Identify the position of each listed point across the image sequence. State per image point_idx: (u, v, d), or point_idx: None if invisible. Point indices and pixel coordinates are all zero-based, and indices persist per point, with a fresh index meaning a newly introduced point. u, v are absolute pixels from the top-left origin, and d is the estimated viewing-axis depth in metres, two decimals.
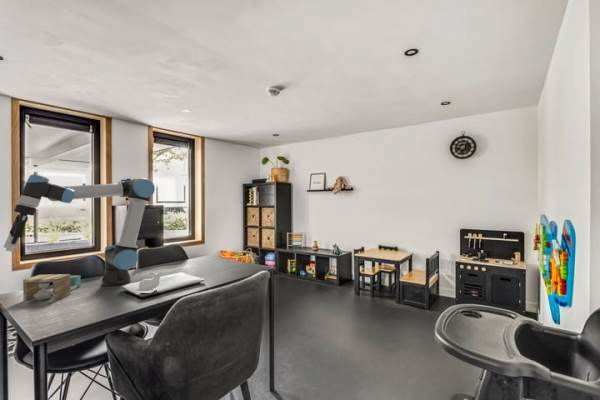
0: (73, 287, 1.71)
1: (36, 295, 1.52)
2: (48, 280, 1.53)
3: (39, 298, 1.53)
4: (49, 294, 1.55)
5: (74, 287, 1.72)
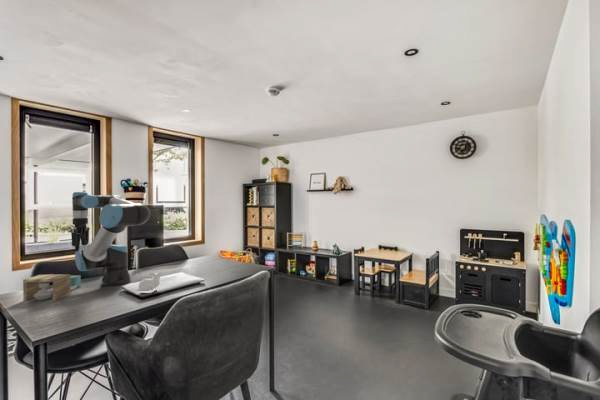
0: (73, 287, 1.71)
1: (36, 295, 1.52)
2: (48, 280, 1.53)
3: (39, 298, 1.53)
4: (49, 294, 1.55)
5: (74, 287, 1.72)
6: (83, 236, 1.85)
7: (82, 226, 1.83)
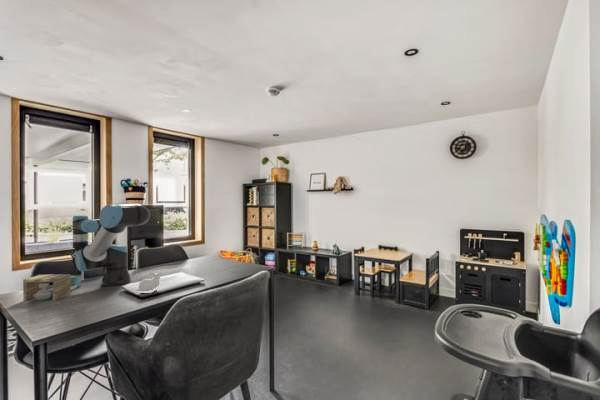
0: (73, 287, 1.71)
1: (36, 295, 1.52)
2: (48, 280, 1.53)
3: (39, 298, 1.53)
4: (49, 294, 1.55)
5: (74, 287, 1.72)
6: None
7: (82, 249, 1.83)
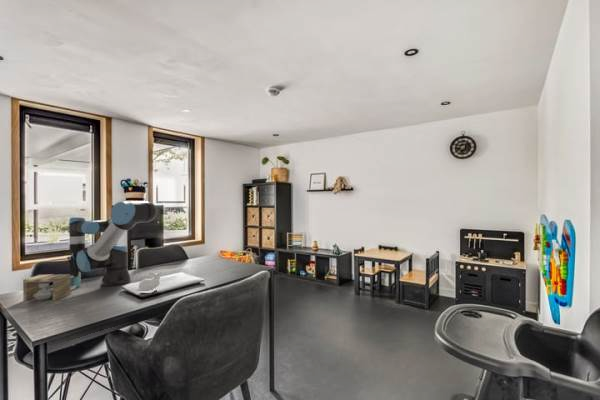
0: (72, 287, 1.71)
1: (36, 295, 1.52)
2: (48, 280, 1.53)
3: (39, 298, 1.53)
4: (49, 294, 1.55)
5: (73, 287, 1.72)
6: None
7: (79, 252, 1.81)
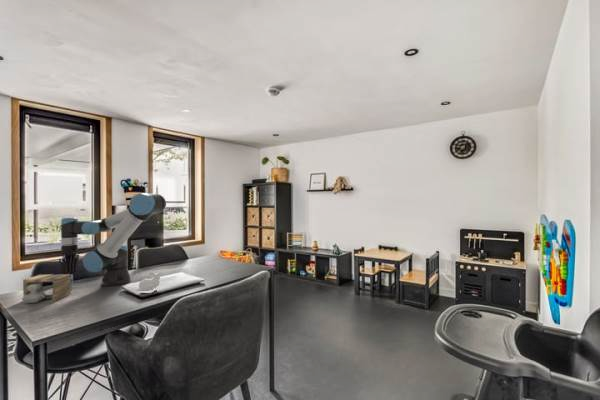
0: None
1: (23, 298, 1.47)
2: (48, 280, 1.53)
3: (27, 301, 1.48)
4: (35, 298, 1.49)
5: None
6: (71, 264, 1.75)
7: (71, 253, 1.74)
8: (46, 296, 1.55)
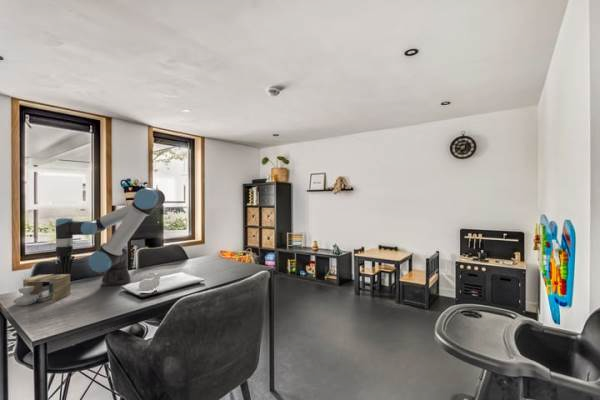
0: None
1: (15, 300, 1.44)
2: (48, 280, 1.53)
3: (18, 304, 1.45)
4: (26, 301, 1.44)
5: None
6: (66, 266, 1.71)
7: (66, 255, 1.70)
8: (39, 299, 1.51)
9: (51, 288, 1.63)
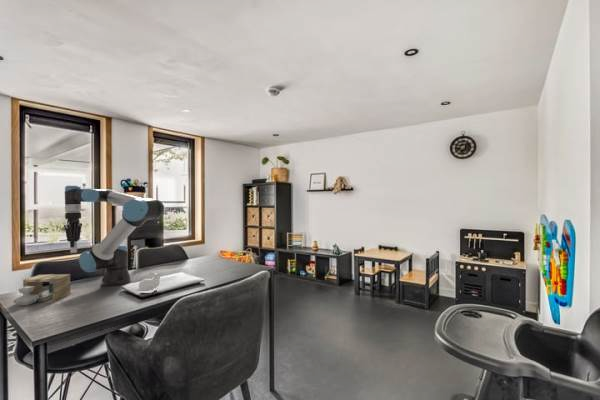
0: None
1: (15, 300, 1.44)
2: (48, 280, 1.53)
3: (18, 304, 1.45)
4: (26, 301, 1.44)
5: None
6: (75, 231, 1.78)
7: (75, 221, 1.77)
8: (39, 299, 1.51)
9: (51, 288, 1.63)
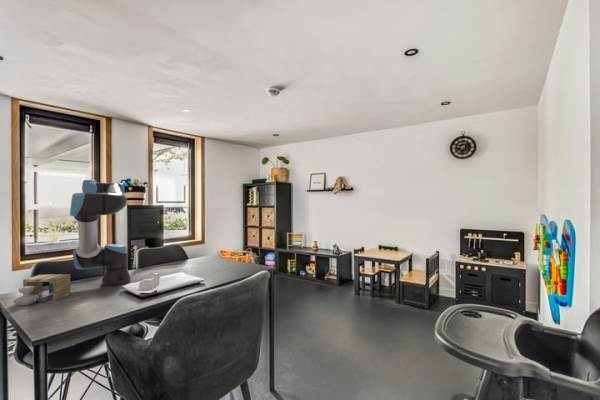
0: None
1: (15, 300, 1.44)
2: (48, 280, 1.53)
3: (18, 304, 1.45)
4: (26, 301, 1.44)
5: None
6: None
7: None
8: (39, 299, 1.51)
9: (51, 288, 1.63)
